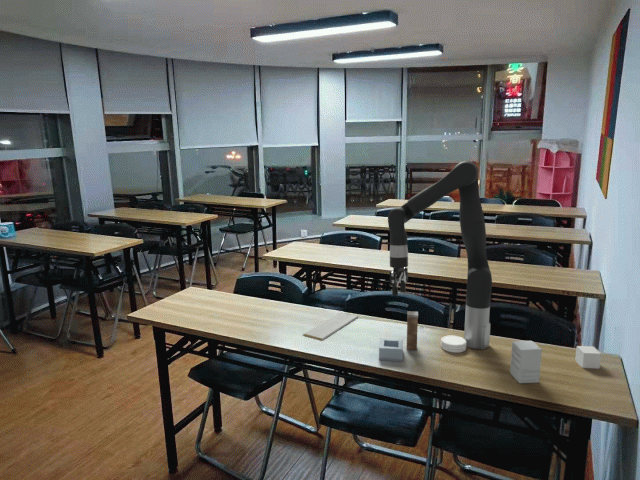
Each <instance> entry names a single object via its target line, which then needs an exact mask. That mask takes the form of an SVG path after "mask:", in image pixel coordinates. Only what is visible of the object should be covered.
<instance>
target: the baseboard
mask: <svg viewBox="0 0 640 480" xmlns="http://www.w3.org/2000/svg"><path fill="white" fill-rule="evenodd" d="M358 318H359V315H358V314H356V313H355V312H354V313H352V312H351V311H350V310H347V312H344V311H343V310H341V309H340V312H337V314H335V315H333V316H331V317H330V318H328V319H327V320H325V321H323V322H321V323H319V324H318V325H316V326H315V327H313V328H311V329H309V330H308V331H306V332H304V333H303V334H302V336H304V337H305V336H306V337H309V338H312V339H317V340H320V341H323V340H325V339H327V338H328V337H330V336H331V335H333V334H335V333H336V332H338V331H340V330H341V329H342V328H344V327H345V326H347V325H349V324H350V323H352V322H353V321H355V320H357V319H358Z"/></svg>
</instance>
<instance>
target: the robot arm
mask: <svg viewBox="0 0 640 480" xmlns="http://www.w3.org/2000/svg"><path fill="white" fill-rule="evenodd" d="M479 189H480V188H479V167H478V166H477V165H476V163H474V162H473V161H471V160H463V161H460V162H459V163H457V164H456V165H455V166H454V168H452V169H451V170H450V171H449V172H448V173H447V174H446V175H445V176H444V177H442V178H440V180H438V181H437V182H435V183H434V184H432V185H430V186H427V187H426V188H425V189H423V190H421V191H419V192H418V193H417V194H415V195H413V196H412V197H410V198H409V199H408V200H407V202H405V203H404V204H403V205H401V206H400V207H394V208H392V209H390V211H389V212H388V216H387V224H388V225H387V226H388V229H389V230H388V231H389V234H390V235H389V244H390V245H389V267H390V268H393V270H392V271H389V286H390V287H392V289H391V291H392V292H391V295H392V296H393V297H397V296H399V291H400V292H401V293H406V292H407V291H406V289H407V288H406V284H407V282H408V281H409V275H408V274H409V271H408V269H409V268H408V267H409V249H408V233H407V232H406V230H405V229H406V228H405V224H406V223H407V222H409V221H410V220H412V219H413V218H414V217H416V215H418V214H420V213H422V212H424V211H425V210H426V209H428V208H430V207H431V206H433V205H434V204H436V203H437V202H439V201H440V200H441V199H443V198H444V197H445V196H447V195H448V194H449V195H450V194H451V193H452V192H454V191H457V190H458V193H459V226H460V232H461V233H460V234H461V238H462V241H463V246H464V248H465V251H466V256H467V278H466V292H465V293H466V296H465V315H464V334H463V338H464V339H465V340H466V342H467V343H466V348H470V349H475V350H483V351H484V350H485V349H487V348H488V347H489V345H490V340H491V339H490V336H491V322H490V312H491V311H490V309H491V301H492V300H491V299H492V287H493V276H492V272H491V269H490V266H489V261H488V257H487V252H486V251H487V232H486V230H487V229H486V222H485V216H484V211H483V206H482V202H481V198H480V192H479Z"/></svg>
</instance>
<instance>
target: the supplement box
mask: <svg viewBox="0 0 640 480" xmlns="http://www.w3.org/2000/svg"><path fill="white" fill-rule="evenodd" d="M542 353H543V349H542V348H541V347H540V346H538V345H537V344H536V343H535V342H534V341H532V340H515V341H511V356H510V357H511V358H510V368H509V369H510V370H509V374H510V375H511V376H512V377H513V379H514V380H515V381H516V382H518V383H519V384H529V383H530V384H534V383H540V375H541V363H542Z"/></svg>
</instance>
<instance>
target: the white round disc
mask: <svg viewBox="0 0 640 480" xmlns="http://www.w3.org/2000/svg"><path fill="white" fill-rule="evenodd" d="M466 343H467V342H466V340H465V339H464V337H461V336H459V335H454V334H453V335H451V334H450V335H445V336H443V337H441V339H440V348H441V349H442V350H444V351H445V352H448V353H453V354H455V353H456V354H457V353H463V352H465V351H466V350H467V346H466Z"/></svg>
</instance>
